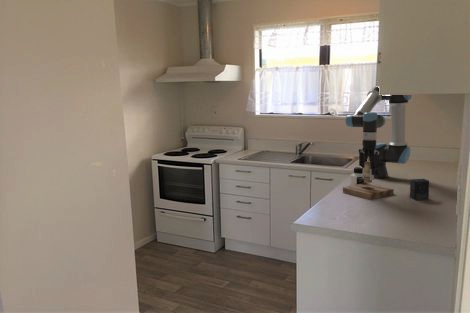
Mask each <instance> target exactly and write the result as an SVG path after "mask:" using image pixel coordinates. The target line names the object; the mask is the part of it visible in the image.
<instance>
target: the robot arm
mask: <svg viewBox="0 0 470 313" xmlns="http://www.w3.org/2000/svg"><path fill="white" fill-rule="evenodd" d="M376 86H377V85H375V86H374V87H372V88H371V89H370V90H369V91H368V92H367V95H366V97H365V99H364V100H363V101H362V103H361V104H359V106H358V108H357V109H356V110H355V112H354V113H353V114H348V115H346V117H345V125H346V126H347V127H350V128H362V144H361V146H362V148H359V149H358V154H359V155H358V156H359V157H358V162H359V163H358V165H359V166H358V167H362V173H363V178H362V179H364V166H365V161H370V164H371V168H370V180H372V181H374V179H385V178H388V177H389V173H388V169H387V166H386V165H387V163H390V164H391V163H392V164H397V165H401V164H406V163H407V162H408V161H409V159H410V156H411V147H410V146H408V143H407V142H406V106H407V104H408V103H409V101H410V100H411V99H412V95H392V96H382V95H379V88H378V87H376ZM382 101H388V104H389V106H391V107H390V110H391V112H390V113H391V114H390V123H391V125H390V141H389V143H388V144H387V143H386V142H377V140H376V139H378V137H377V133H378V132H377V131H378V129H380V128H382V127H383V126H385V124H386V118H385V117H384V115H382V114H378V113H377V112H372V110H373V109H374V108H375V107H376V105H377V104H379V103H380V102H382Z"/></svg>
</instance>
